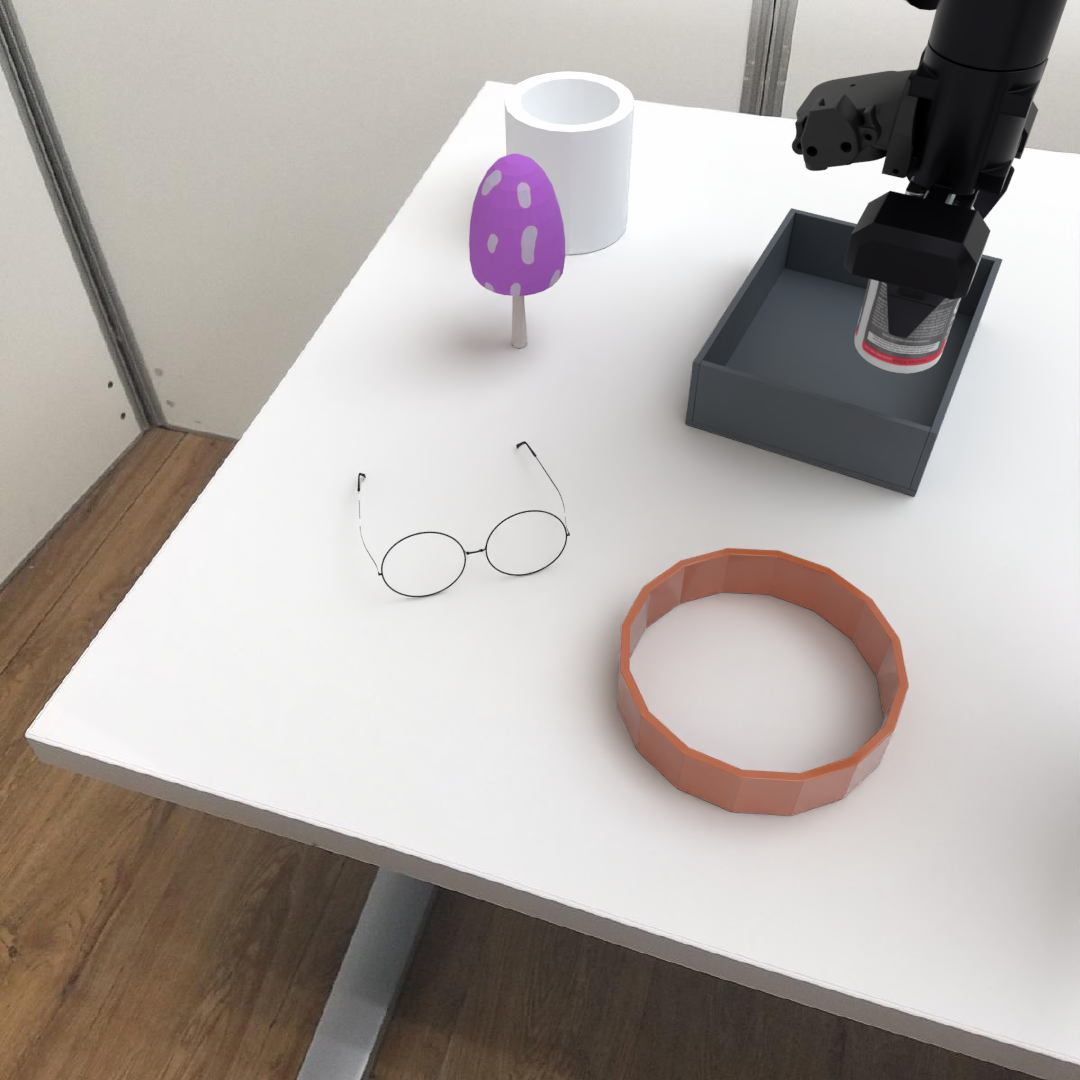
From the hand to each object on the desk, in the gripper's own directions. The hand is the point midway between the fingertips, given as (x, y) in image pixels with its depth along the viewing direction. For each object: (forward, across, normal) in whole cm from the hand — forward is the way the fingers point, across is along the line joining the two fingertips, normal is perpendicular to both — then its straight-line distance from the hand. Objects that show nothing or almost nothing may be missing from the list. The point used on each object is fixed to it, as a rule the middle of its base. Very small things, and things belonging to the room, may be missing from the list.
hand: (909, 309), depth 64 cm
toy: (+11, 0, -26) cm, 29 cm away
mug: (+11, -18, -30) cm, 37 cm away
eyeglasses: (+11, +18, -22) cm, 31 cm away
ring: (+11, +22, -1) cm, 25 cm away
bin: (+11, -7, -4) cm, 14 cm away
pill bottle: (+3, 0, 0) cm, 3 cm away
